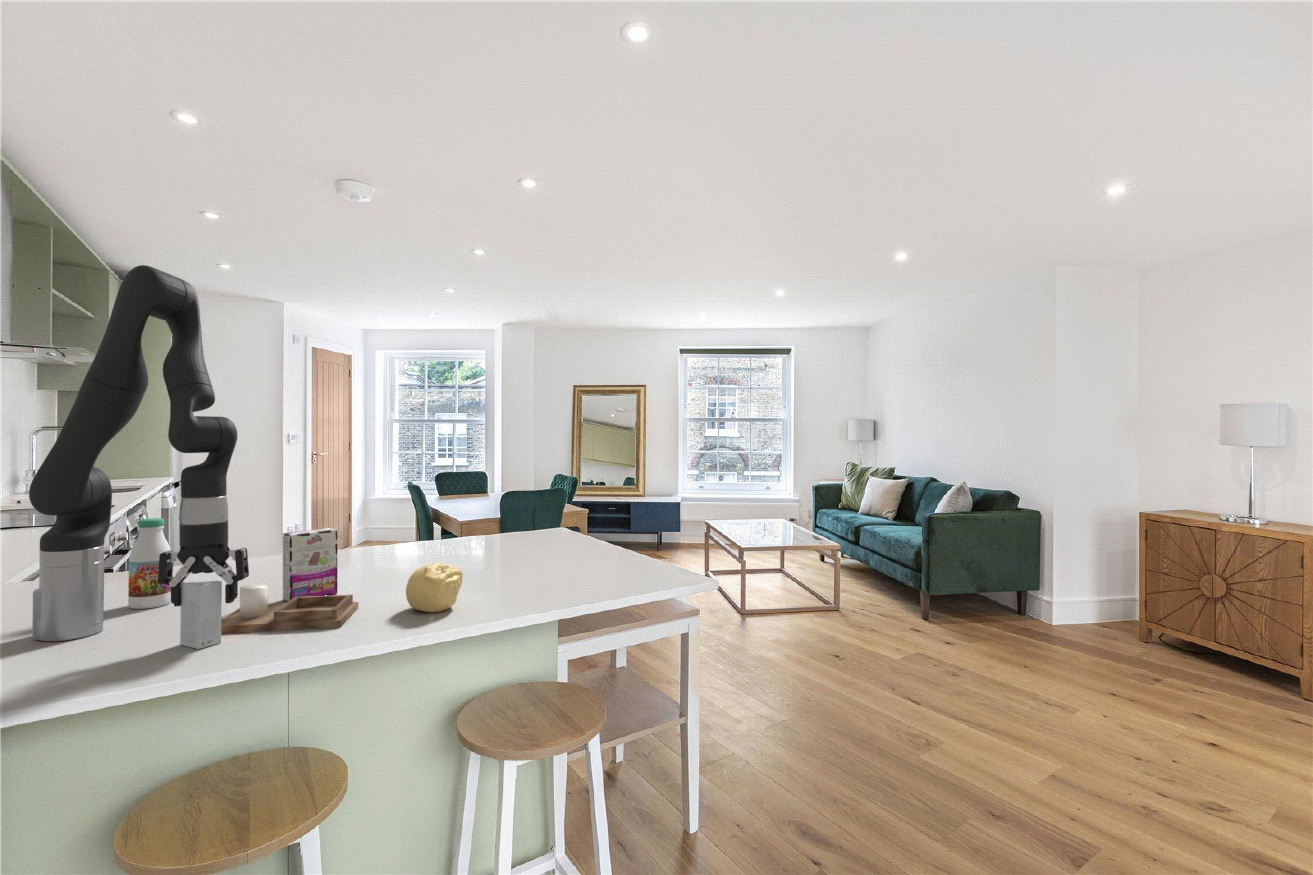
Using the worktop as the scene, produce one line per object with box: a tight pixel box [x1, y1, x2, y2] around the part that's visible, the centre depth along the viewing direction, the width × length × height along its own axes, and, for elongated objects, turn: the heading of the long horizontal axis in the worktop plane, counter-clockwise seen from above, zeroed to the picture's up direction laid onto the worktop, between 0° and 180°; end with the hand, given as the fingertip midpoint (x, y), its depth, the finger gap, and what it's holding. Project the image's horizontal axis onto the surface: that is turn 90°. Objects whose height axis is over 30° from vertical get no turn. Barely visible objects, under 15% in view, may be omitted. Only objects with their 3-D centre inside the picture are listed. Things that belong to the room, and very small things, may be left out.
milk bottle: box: [127, 517, 172, 610], centre depth 139 cm, size 8×8×20 cm
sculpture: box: [405, 561, 464, 613], centre depth 140 cm, size 12×12×11 cm
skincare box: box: [179, 577, 223, 650], centre depth 115 cm, size 6×4×12 cm
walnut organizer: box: [221, 583, 359, 634], centre depth 130 cm, size 24×14×8 cm, turn 103°
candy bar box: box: [282, 527, 338, 603], centre depth 148 cm, size 11×5×16 cm, turn 143°
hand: (204, 603), depth 116 cm, fingers open, 8 cm apart
